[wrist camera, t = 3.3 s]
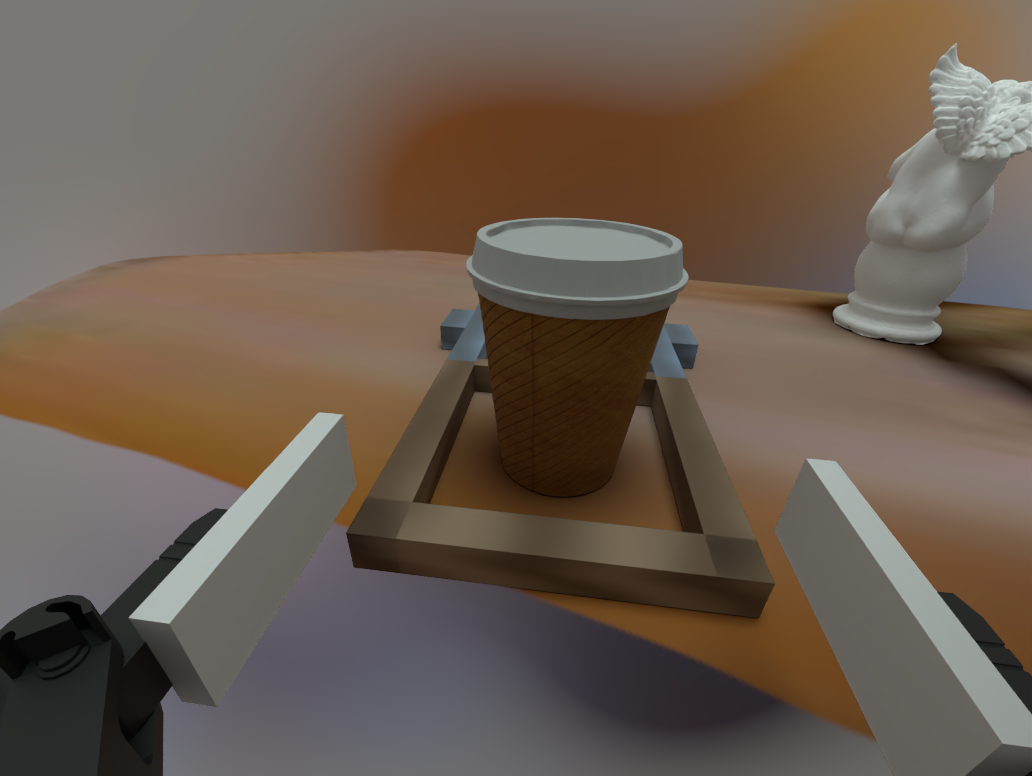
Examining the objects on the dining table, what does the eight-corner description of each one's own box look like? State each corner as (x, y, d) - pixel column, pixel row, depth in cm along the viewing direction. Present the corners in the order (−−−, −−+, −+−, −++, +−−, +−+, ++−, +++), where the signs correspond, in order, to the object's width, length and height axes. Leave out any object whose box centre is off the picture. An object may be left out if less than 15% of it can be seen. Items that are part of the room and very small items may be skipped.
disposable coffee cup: (564, 396, 31) (581, 210, 25) (681, 472, 25) (743, 244, 19) (440, 444, 26) (424, 226, 20) (546, 555, 20) (570, 280, 14)
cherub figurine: (887, 310, 49) (1004, 62, 38) (1018, 361, 39) (1230, 39, 28) (791, 314, 47) (887, 50, 36) (902, 369, 36) (1085, 19, 25)
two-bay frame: (670, 322, 44) (675, 302, 43) (814, 625, 17) (834, 590, 16) (467, 308, 46) (466, 289, 45) (307, 561, 19) (297, 527, 18)
